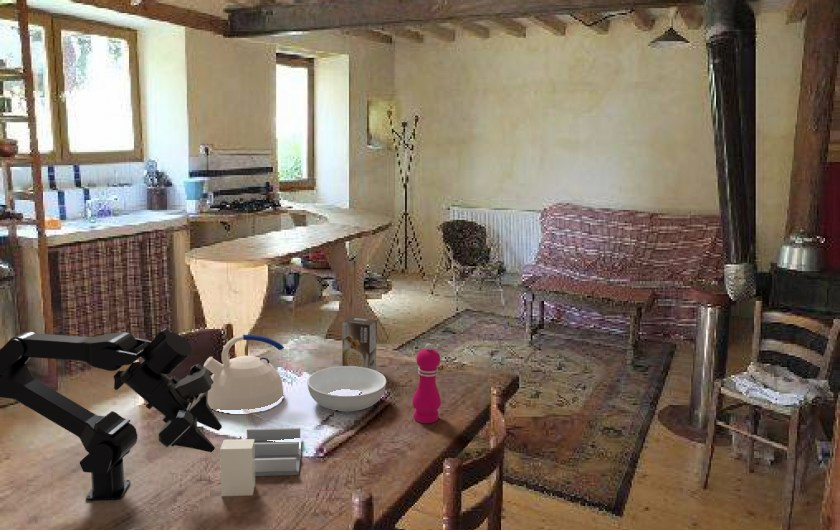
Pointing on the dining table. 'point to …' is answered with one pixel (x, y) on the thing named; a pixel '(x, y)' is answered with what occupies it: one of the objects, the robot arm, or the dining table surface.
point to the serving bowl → (346, 387)
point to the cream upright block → (237, 467)
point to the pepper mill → (427, 386)
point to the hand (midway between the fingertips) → (217, 439)
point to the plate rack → (276, 451)
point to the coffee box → (359, 342)
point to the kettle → (243, 379)
